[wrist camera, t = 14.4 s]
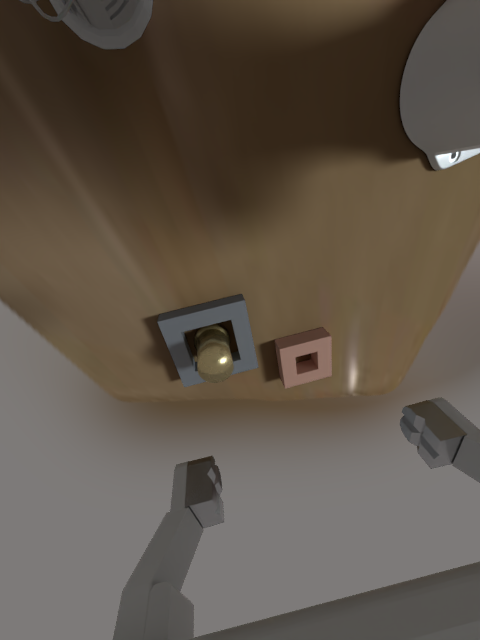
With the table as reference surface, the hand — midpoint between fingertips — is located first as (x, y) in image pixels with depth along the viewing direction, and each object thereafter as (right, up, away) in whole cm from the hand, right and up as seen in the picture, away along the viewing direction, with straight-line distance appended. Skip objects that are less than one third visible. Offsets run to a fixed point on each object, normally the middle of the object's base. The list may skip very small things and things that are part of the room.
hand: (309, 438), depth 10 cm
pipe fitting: (-8, +2, +31) cm, 32 cm away
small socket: (+8, -1, +36) cm, 36 cm away
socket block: (-8, +2, +31) cm, 32 cm away
